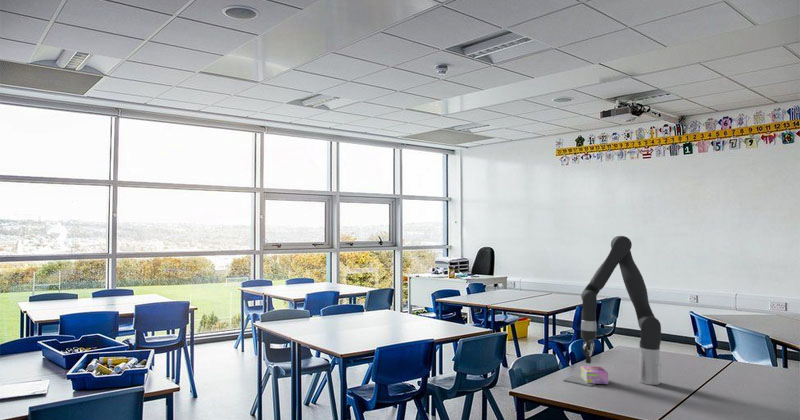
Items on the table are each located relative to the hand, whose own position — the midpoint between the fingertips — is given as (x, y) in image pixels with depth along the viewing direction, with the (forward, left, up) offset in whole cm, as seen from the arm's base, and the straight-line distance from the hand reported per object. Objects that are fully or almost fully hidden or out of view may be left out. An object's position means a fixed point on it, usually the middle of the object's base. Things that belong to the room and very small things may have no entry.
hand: (588, 362), depth 275 cm
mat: (0, +10, -8) cm, 12 cm away
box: (-1, 0, -4) cm, 4 cm away
